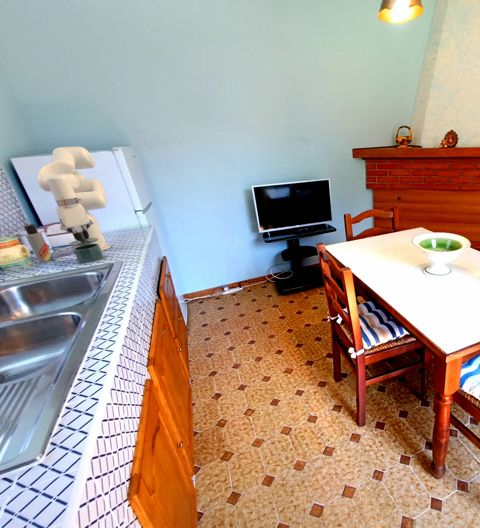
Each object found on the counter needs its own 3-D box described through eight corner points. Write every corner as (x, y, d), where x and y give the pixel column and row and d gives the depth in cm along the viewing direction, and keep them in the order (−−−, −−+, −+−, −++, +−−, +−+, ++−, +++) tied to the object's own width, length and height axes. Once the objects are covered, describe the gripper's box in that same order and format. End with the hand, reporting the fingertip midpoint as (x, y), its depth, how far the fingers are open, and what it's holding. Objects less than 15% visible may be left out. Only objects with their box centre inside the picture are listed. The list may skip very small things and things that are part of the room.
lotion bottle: (56, 260, 155) (39, 223, 147) (42, 265, 150) (23, 226, 142) (51, 259, 157) (33, 222, 149) (37, 263, 152) (18, 225, 144)
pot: (75, 262, 151) (69, 248, 148) (98, 255, 159) (92, 242, 156) (84, 265, 146) (78, 251, 144) (107, 258, 155) (102, 244, 152)
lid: (65, 245, 147) (60, 233, 145) (92, 238, 156) (87, 227, 154) (76, 248, 142) (71, 236, 140) (103, 241, 151) (98, 229, 149)
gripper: (84, 199, 149) (98, 234, 156) (42, 205, 136) (59, 243, 143) (91, 199, 146) (105, 235, 153) (48, 206, 133) (66, 245, 140)
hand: (82, 239), depth 148 cm, fingers closed on lid, 2 cm apart
